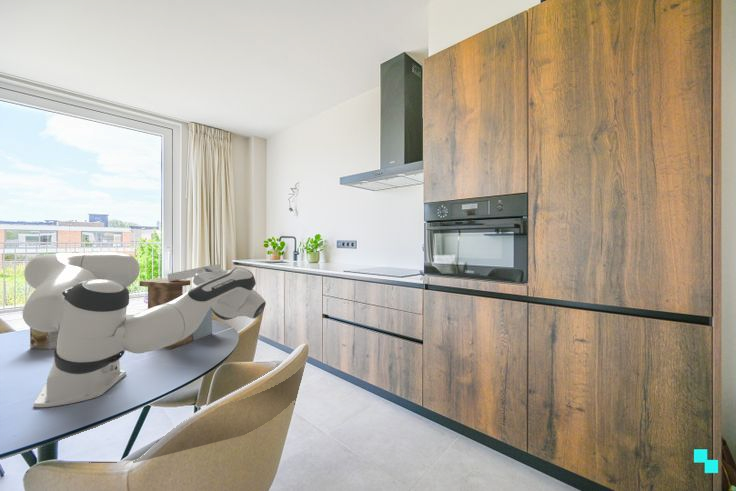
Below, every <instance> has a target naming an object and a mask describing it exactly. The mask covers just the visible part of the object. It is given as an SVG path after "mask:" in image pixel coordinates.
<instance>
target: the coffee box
mask: <svg viewBox="0 0 736 491" xmlns="http://www.w3.org/2000/svg"><path fill="white" fill-rule="evenodd" d="M29 328H30V329H29V335H30V336H29V348H30V349H33V350H34V349H35V350H36V349H39V350H53V349H56V346H57V339H58V333H59V331H54V332H42V331H38V330H35V329H32V328H31V327H29Z"/></svg>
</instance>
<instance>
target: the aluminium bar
mask: <svg viewBox="0 0 736 491" xmlns="http://www.w3.org/2000/svg"><path fill="white" fill-rule="evenodd" d="M201 267H202V266H201ZM201 267H196V268H192V269H187V270H182V271H181V270H180V271H177V272H171V273H167V279H168V281H175V280H187V279H191V278H194V277H195V275H196V274H197V273H201V272H199V269H200V268H201ZM203 267H204V268H206V272H217V271H221V269H222V265H221V264H220V263H218V264H211V265H206V266H203Z"/></svg>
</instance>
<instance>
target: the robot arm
mask: <svg viewBox="0 0 736 491" xmlns="http://www.w3.org/2000/svg"><path fill="white" fill-rule="evenodd" d="M204 267H205V266H201V268H200V267H199V268H200V269H199V272H201V273H197V274H196V275H195V277H193V280H192V283H193V284H194V285H195V286H194V287H192V288H191V289H189V290H188V291H186V292H185V293H183V295H181V296H180V297H178V298H176V299H174V300H172V301H170V302H167V303H165V304H162V305H158V306H155V307H152V308H149V309H148V308H147V309H144V310H143V311H139V312H138V313H136V314H127V307H128V306H129V304H130V292H129V288H128V286H130V285H132V284H133V283H134V282H135V281H136V280H137V278H138V277H139V274H140V271H141V270H140V269H141V268H140V264H139V261H138V260H137V258H135V257H134V256H133V255H132V254H127V253H119V252H67V253H66V252H61V253H60V252H58V253H50V254H44V255H38V256H35V257H33V258H32V259H30V261H29V262H27V264H26V266H25V268H24V278H25V281H26V283H27V284H28V285H29V286H30V287H31V288H33V289H34V290H33V292H32V293H31V294H30V296H29V297H28V298H27V300H26V302H25V304H24V307H23V310H22V318H23V321H24V323H25V324H26V325H27V326H28V327H29V328H30V327H31V328H32V329H35V330H38V331H42V332H54V331H59V333H58V339H57V346H56V348H54V350H53V351H54V352H53V358H54V361H53V363H52V366H51V368H50V371H49V374H48V375H47V379H46V382H45V384H44V385H43V387H42V389H41V390H40V392H39V393H38V395H37V397H36V398H35V400H34V402H33V407H34V408H50V407H57V406H65V405H70V404H74V403H79V402H84V401H87V400H91V399H95V398H98V397H100V396H102V395H104V393H106V392H107V391H109V389H111V388H113V386H114V385H115V384H117V383H118V382H119V381H120V380H121V379H123V377H125V376H126V375H127V371H126V370H125V369H121V366H120V365H121V364H120V360H121V358H122V357H123V356H124V354H125V351H126V352H129V353H131V354H132V353H133V354H145V353H150V352H154V351H159V350H161V349H165V348H164V347H167V346H170V345H172V344H174V343H177V342H179V341H181V340H183V339H185V338H187V337H188V336H189V335H191V334H192V333H193V332H194V331H196V329H197V328H198V327H199V325H200V324H201V322H202V321H203V319H204V317H205V316H206V314H207V312H208V311H209V309H210V308H211V309H212V314H214V315H215V316H216V317H217V318H218V319H221V320H224V321H229V320H232V319H233V320H234V319H235V318H237V317H246V318H250V319H252V320H253V319H257V318H258V317H259V316H260V315H261V314H262V313H263V311H264V309H265V307H266V305H267V304H266V303H267V302H266V300H265V298H263V296H262V295H261V294H260V293H258V292H257V291H256V290H255V289H254V288H255V286H256V285H257V283H256V278H255V276H254V274H253V272H251V271H250V270H249V269H247V268H243V267H235V268H231V269H225V270H224V269H222V268H221V271H217V272H206V268H204Z"/></svg>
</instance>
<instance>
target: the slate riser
mask: <svg viewBox="0 0 736 491" xmlns="http://www.w3.org/2000/svg"><path fill="white" fill-rule="evenodd" d="M210 335H213V311H212V309H211V308H210V309H209V311H208V312H207V314H206V316H205V317H204V319H203V321H202V322H201V324H200V325H199V327H198V328H197V329H196V331H194V332H193V333H192V334H191V335H189V336H190V337H192V342H193V341H197V340H199V339H202V338H205V337H207V336H210Z"/></svg>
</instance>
